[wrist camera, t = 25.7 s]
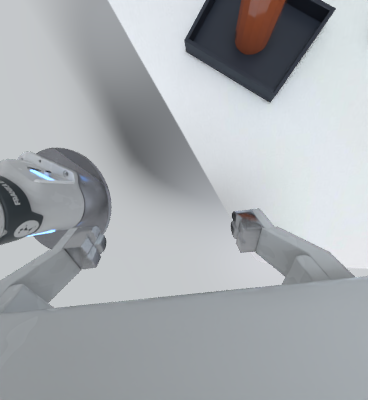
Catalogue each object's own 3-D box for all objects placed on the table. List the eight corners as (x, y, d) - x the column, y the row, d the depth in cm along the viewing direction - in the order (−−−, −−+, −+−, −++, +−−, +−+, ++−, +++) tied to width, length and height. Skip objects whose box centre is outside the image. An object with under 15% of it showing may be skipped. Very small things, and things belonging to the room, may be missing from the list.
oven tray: (186, 51, 29) (184, 40, 27) (229, -29, 27) (231, -49, 24) (270, 102, 28) (275, 95, 26) (324, 24, 25) (336, 8, 23)
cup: (227, 44, 28) (236, -20, 19) (248, 9, 26) (268, -78, 18) (256, 61, 27) (279, 3, 18) (278, 26, 26) (315, -55, 17)
